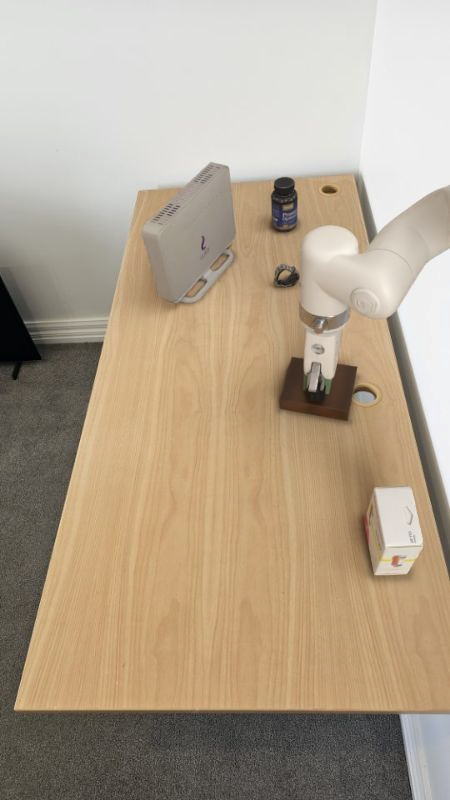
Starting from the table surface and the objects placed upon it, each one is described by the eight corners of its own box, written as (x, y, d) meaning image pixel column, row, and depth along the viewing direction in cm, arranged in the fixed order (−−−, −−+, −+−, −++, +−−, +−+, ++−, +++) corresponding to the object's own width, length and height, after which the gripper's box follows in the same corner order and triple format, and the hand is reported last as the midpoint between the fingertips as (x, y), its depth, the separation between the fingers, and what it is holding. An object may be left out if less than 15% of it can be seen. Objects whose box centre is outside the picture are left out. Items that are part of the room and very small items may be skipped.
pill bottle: (284, 236, 118) (284, 193, 109) (266, 226, 121) (264, 183, 112) (302, 223, 120) (303, 181, 111) (284, 214, 123) (283, 171, 114)
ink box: (362, 519, 76) (372, 484, 67) (395, 517, 76) (410, 482, 66) (372, 576, 71) (384, 547, 62) (408, 575, 71) (426, 546, 61)
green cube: (333, 374, 89) (335, 358, 85) (328, 394, 87) (330, 378, 83) (308, 370, 90) (308, 354, 87) (303, 390, 88) (303, 374, 84)
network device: (184, 316, 106) (166, 236, 90) (152, 303, 109) (128, 225, 93) (245, 246, 118) (238, 164, 102) (214, 236, 121) (202, 156, 105)
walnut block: (355, 376, 92) (357, 366, 90) (347, 421, 87) (349, 411, 84) (291, 366, 95) (291, 356, 93) (279, 409, 90) (279, 399, 87)
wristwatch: (287, 292, 109) (303, 276, 106) (269, 281, 107) (284, 264, 104) (285, 284, 111) (300, 268, 108) (267, 273, 109) (282, 256, 106)
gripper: (340, 355, 68) (332, 425, 83) (358, 272, 78) (348, 348, 92) (286, 347, 70) (287, 417, 84) (310, 267, 79) (307, 342, 94)
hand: (319, 380), depth 88 cm, fingers open, 7 cm apart
